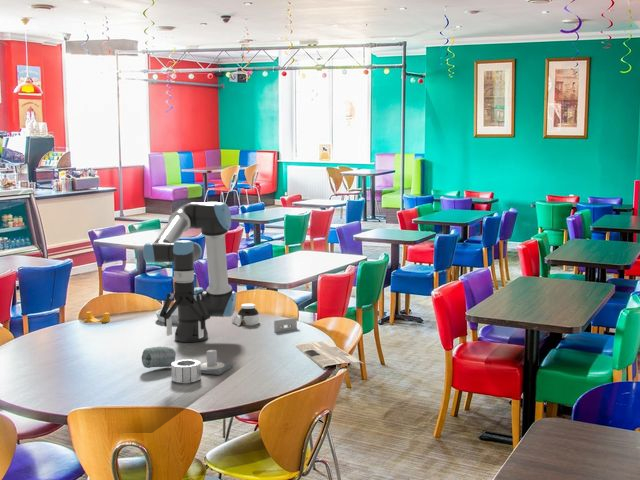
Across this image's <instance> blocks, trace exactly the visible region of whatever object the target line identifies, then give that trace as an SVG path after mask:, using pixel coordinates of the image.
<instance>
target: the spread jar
mask: <svg viewBox="0 0 640 480" xmlns="http://www.w3.org/2000/svg"><path fill="white" fill-rule="evenodd" d="M240 306H241V307H240V309H239V311H238V313H237V315H234V316H233V318H232V320H231V324H235V325H236V326H237V327H240V326H241V325H242V324H243V326H255V325H258V324H259V323H260V314H259V311H258V310H257V308H256V303H255V304H254V303H251V302H250V303H242V304H241V305H240Z"/></svg>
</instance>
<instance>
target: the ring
mask: <svg viewBox="0 0 640 480" xmlns="http://www.w3.org/2000/svg"><path fill="white" fill-rule="evenodd" d="M201 363H202V362H201V361H200V360H197V359H189V358H187V359H179V360H175V361H174V362H172V363H171V381H173V382H175V383H183V384H184V383H185V384H187V383H194V382H198V381H199V380H201V379H202V373H201Z"/></svg>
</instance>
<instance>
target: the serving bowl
mask: <svg viewBox="0 0 640 480" xmlns="http://www.w3.org/2000/svg"><path fill="white" fill-rule="evenodd" d="M170 308H171V307H169V308H168V310H167V312H168V311H169V309H170ZM161 311H162V308H161V309H159V310H157V311H155V314H156V318H157V320H158V321H159V322H160V323H163V324H165V319H164V317H160V313H161ZM169 318H172V325H174V324H175V325H176V324H177V325H178V307H177V308H176V309H175V311H174V312H173V313H172V314H171V316H170V317H169Z"/></svg>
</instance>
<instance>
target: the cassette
mask: <svg viewBox="0 0 640 480" xmlns="http://www.w3.org/2000/svg"><path fill="white" fill-rule="evenodd" d="M297 319H298V318H297V317H291V318H290V317H289V318H282V319H274V322H273V325H274V326H273V328H274V329H273V332H274V333H280V332H284V331H285V332H286V331H293V330H296V329H298V326H297V325H298V323H297V322H298V321H297Z"/></svg>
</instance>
